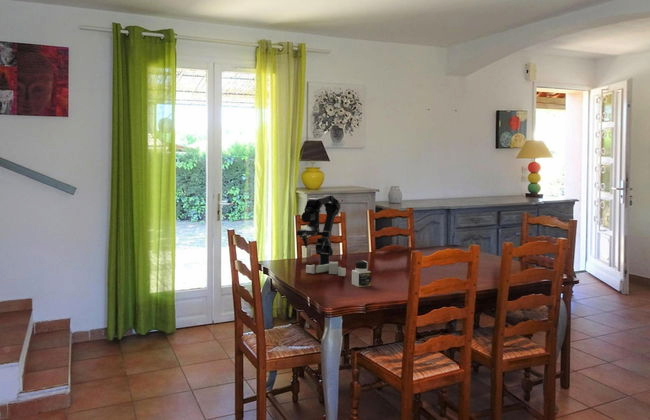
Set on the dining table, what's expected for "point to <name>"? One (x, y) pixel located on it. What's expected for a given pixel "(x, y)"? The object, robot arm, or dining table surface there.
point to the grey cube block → (333, 267)
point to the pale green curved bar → (322, 268)
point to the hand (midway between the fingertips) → (313, 248)
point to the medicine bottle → (361, 274)
